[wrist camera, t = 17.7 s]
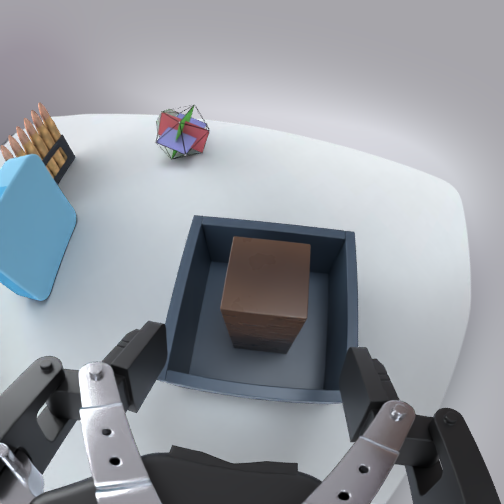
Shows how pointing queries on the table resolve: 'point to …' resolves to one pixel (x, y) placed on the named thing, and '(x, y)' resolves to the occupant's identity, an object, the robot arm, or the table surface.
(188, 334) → the bin
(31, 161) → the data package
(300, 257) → the block
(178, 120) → the geometric puzzle
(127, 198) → the table surface
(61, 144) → the ammunition clip
